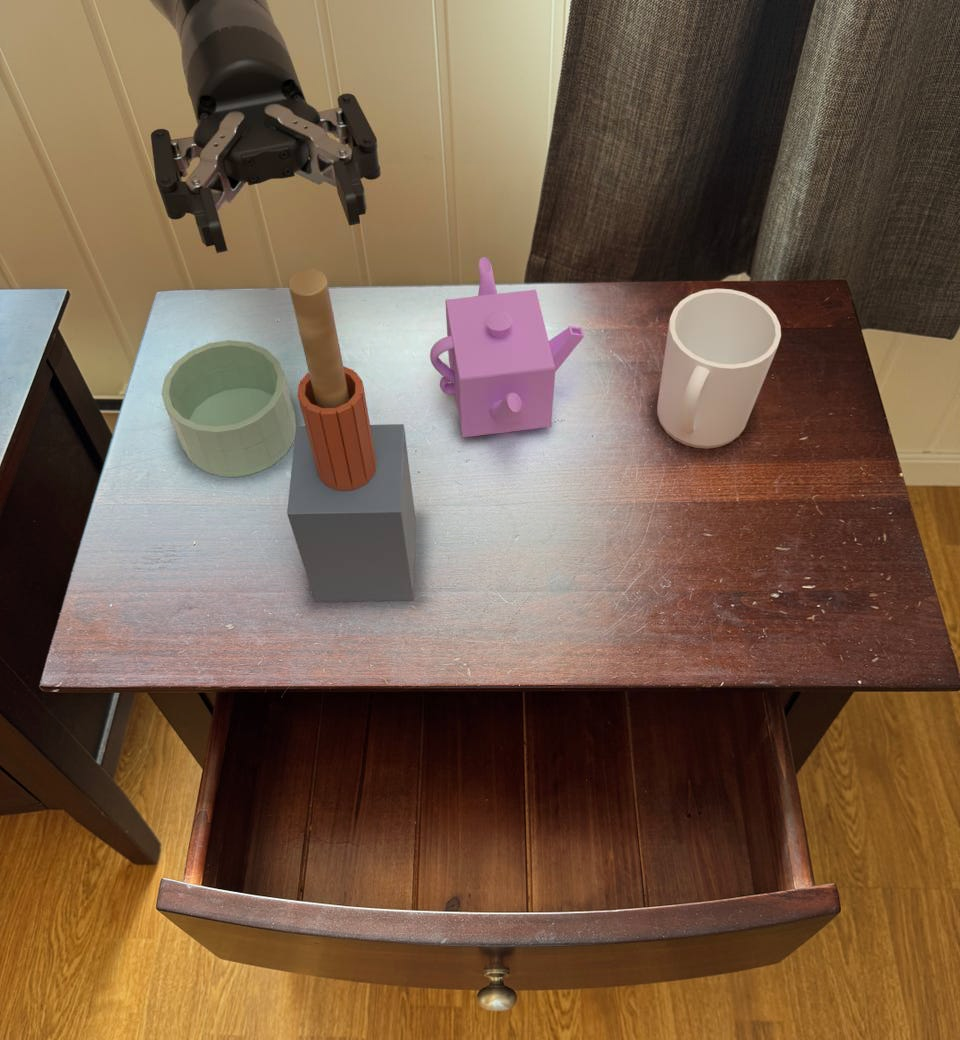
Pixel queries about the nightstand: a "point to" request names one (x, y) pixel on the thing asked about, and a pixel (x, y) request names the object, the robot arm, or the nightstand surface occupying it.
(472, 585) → the nightstand surface
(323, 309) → the stick
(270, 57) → the robot arm
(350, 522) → the holder
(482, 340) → the teapot
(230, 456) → the bowl
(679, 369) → the mug
